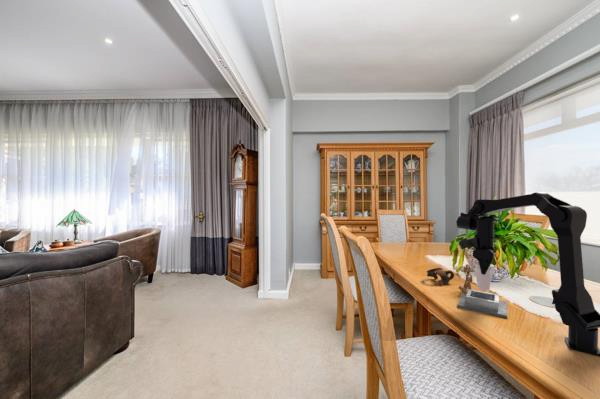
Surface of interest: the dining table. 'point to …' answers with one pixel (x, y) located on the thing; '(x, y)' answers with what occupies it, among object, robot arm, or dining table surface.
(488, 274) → the smoothie
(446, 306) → the dining table surface
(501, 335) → the dining table surface
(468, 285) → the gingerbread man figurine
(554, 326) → the dining table surface
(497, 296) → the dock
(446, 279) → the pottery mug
